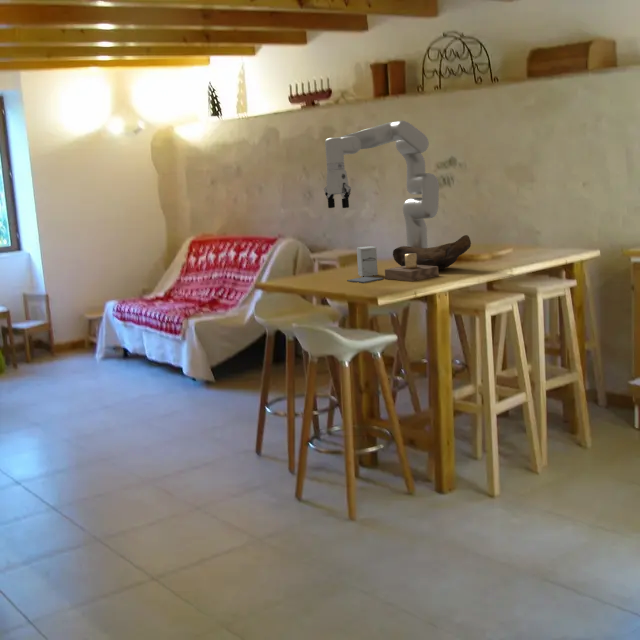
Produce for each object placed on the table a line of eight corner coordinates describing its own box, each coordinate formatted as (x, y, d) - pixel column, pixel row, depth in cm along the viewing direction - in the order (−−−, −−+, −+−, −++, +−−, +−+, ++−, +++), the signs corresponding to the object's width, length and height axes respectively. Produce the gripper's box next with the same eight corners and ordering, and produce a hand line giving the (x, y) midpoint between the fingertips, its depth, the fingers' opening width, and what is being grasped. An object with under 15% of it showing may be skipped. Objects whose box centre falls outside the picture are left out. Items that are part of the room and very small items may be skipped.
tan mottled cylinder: (412, 276, 354) (410, 253, 352) (420, 276, 350) (418, 253, 348) (403, 277, 351) (402, 254, 349) (411, 278, 347) (410, 255, 345)
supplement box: (362, 277, 363) (360, 248, 361) (358, 275, 370) (356, 247, 368) (378, 275, 364) (376, 246, 362) (373, 273, 371) (372, 245, 369)
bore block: (412, 273, 362) (412, 264, 361) (438, 275, 349) (438, 266, 348) (385, 278, 352) (384, 269, 351) (411, 281, 340) (410, 271, 339)
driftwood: (478, 268, 361) (476, 234, 358) (453, 274, 349) (451, 239, 346) (413, 265, 388) (411, 233, 385) (387, 270, 376) (385, 238, 373)
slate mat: (366, 277, 360) (366, 276, 360) (383, 279, 351) (383, 277, 351) (347, 281, 353) (347, 280, 353) (363, 283, 344) (363, 281, 344)
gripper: (355, 165, 345) (358, 206, 348) (330, 167, 359) (333, 207, 362) (341, 167, 341) (344, 208, 344) (316, 168, 355) (319, 208, 358)
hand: (338, 207), depth 353 cm, fingers open, 9 cm apart
